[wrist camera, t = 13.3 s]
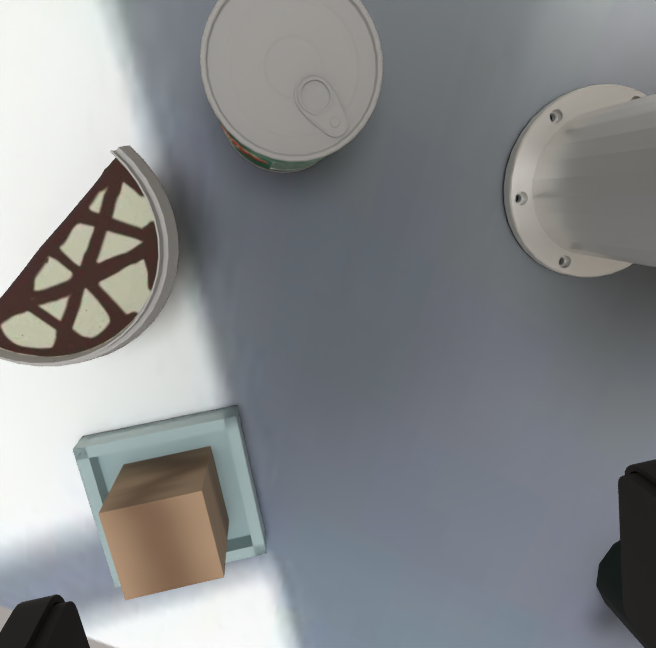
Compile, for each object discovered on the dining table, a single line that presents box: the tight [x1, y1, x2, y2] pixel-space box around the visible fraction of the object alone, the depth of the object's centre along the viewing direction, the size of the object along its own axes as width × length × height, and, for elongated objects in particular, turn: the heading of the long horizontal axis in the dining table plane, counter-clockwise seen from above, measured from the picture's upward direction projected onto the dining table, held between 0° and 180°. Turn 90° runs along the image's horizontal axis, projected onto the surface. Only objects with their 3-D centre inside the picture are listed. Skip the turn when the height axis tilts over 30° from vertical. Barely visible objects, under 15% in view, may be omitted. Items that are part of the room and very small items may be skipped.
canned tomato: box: [200, 0, 383, 173], centre depth 28 cm, size 8×8×11 cm
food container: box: [0, 146, 179, 366], centre depth 30 cm, size 12×6×10 cm, turn 138°
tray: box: [73, 405, 266, 587], centre depth 37 cm, size 11×11×2 cm
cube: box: [98, 446, 229, 600], centre depth 35 cm, size 6×6×6 cm
